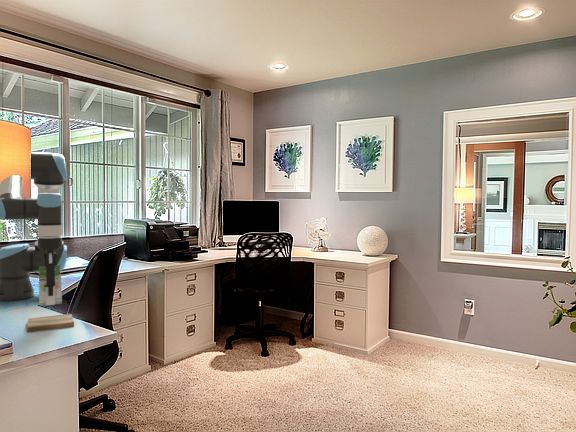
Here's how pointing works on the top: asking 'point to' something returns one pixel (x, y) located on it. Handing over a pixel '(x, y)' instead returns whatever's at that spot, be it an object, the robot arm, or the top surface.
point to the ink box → (43, 282)
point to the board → (50, 322)
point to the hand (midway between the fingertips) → (50, 303)
